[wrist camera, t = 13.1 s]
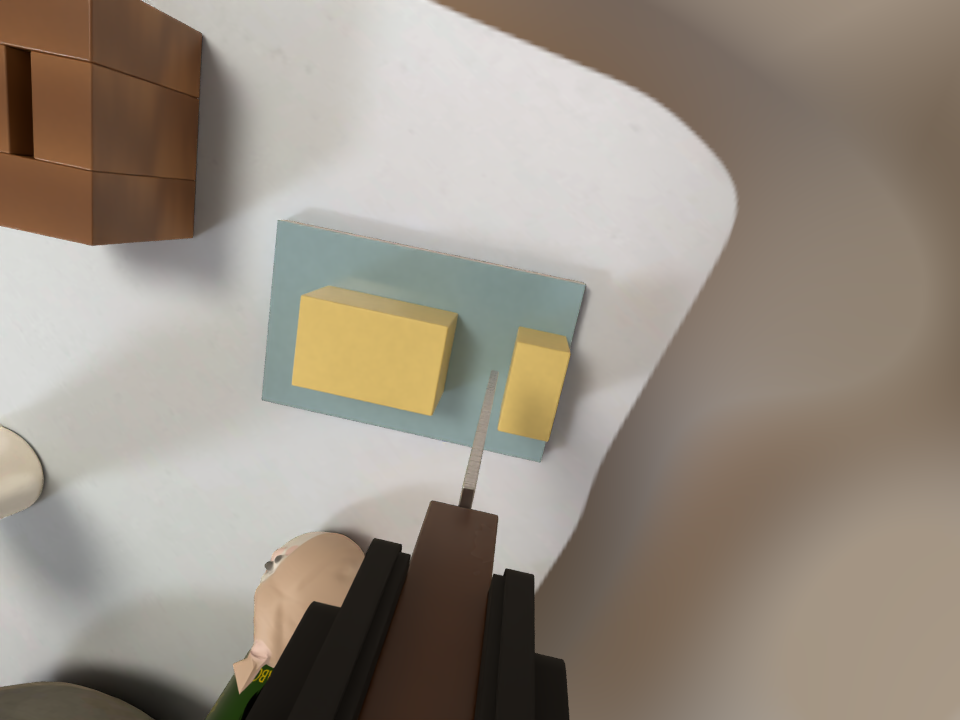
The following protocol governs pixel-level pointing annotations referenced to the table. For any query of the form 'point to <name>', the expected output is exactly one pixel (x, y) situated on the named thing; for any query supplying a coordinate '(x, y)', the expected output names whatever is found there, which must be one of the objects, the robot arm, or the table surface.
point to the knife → (440, 609)
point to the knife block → (98, 120)
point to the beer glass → (18, 474)
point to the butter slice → (534, 384)
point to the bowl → (63, 703)
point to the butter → (373, 348)
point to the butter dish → (428, 282)
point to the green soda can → (239, 697)
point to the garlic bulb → (296, 593)
